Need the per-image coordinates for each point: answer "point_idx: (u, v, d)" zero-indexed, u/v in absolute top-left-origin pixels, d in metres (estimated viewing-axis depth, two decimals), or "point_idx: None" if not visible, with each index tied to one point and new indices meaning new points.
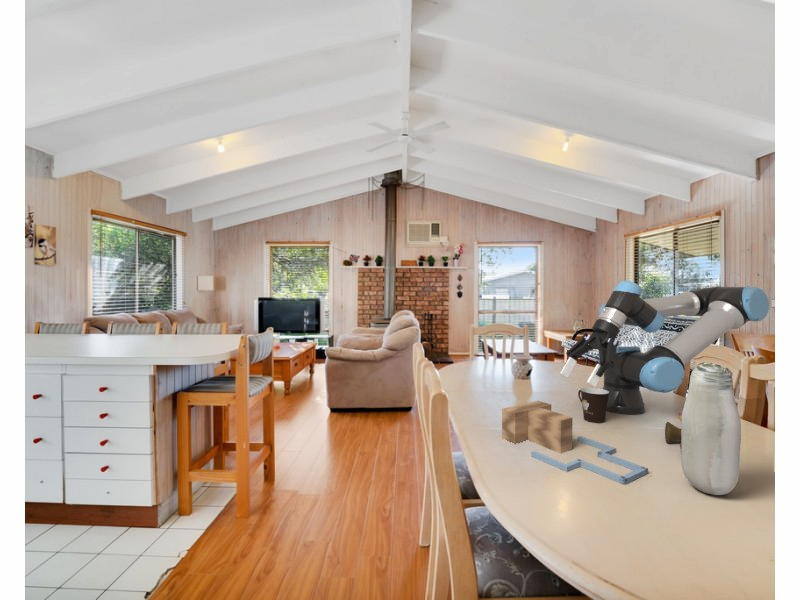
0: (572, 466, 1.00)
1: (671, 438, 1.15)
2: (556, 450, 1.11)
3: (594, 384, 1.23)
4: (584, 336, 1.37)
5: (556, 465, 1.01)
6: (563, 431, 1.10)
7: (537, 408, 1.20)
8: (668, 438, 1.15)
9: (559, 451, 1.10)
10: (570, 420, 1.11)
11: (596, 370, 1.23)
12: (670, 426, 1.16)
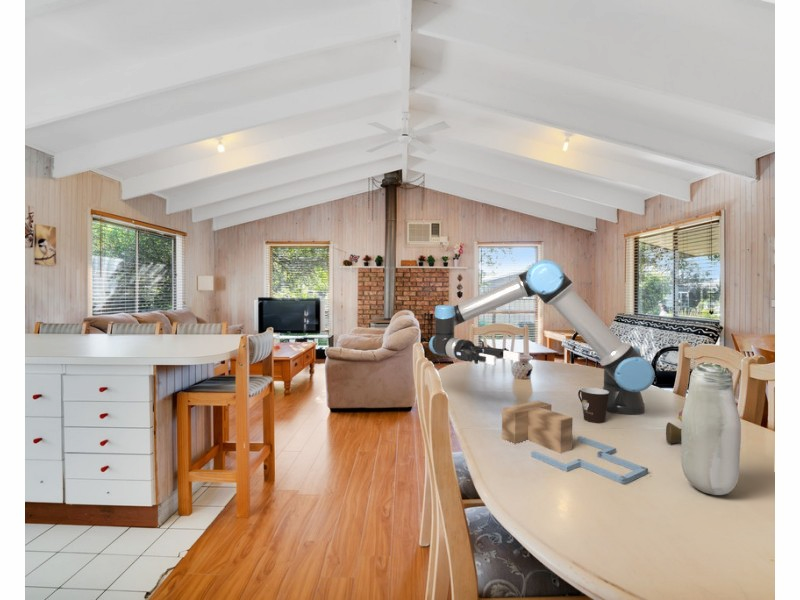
0: (572, 466, 1.00)
1: (673, 439, 1.15)
2: (556, 450, 1.11)
3: (492, 357, 1.26)
4: None
5: (556, 465, 1.01)
6: (563, 431, 1.10)
7: (537, 408, 1.20)
8: (670, 439, 1.15)
9: (559, 451, 1.10)
10: (570, 420, 1.11)
11: (483, 361, 1.29)
12: (671, 427, 1.15)
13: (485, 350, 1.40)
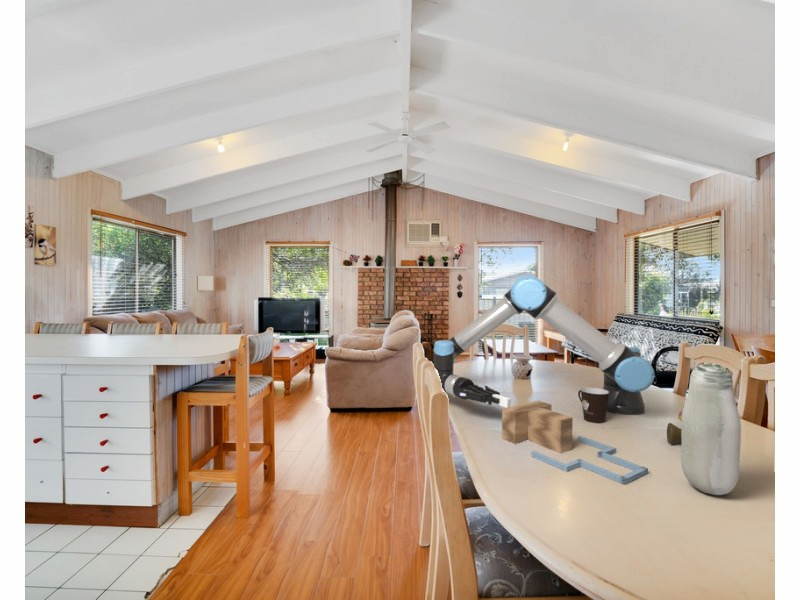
0: (572, 466, 1.00)
1: (674, 440, 1.14)
2: (556, 450, 1.11)
3: (506, 400, 1.28)
4: None
5: (556, 465, 1.01)
6: (563, 431, 1.10)
7: (537, 408, 1.20)
8: (671, 439, 1.14)
9: (559, 451, 1.10)
10: (570, 420, 1.11)
11: (497, 403, 1.31)
12: (673, 427, 1.15)
13: (480, 390, 1.40)
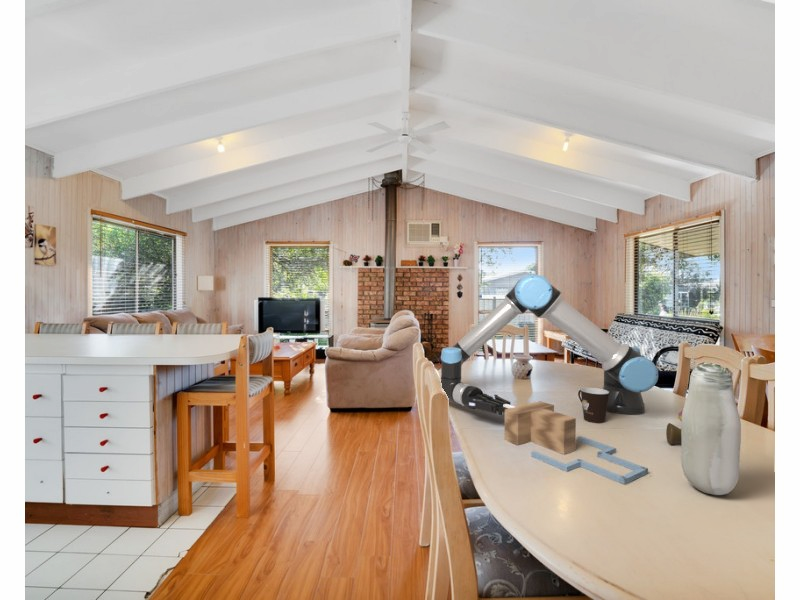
0: (572, 466, 1.00)
1: (674, 440, 1.14)
2: (559, 451, 1.10)
3: None
4: None
5: (556, 465, 1.01)
6: (566, 432, 1.09)
7: (539, 409, 1.19)
8: (671, 439, 1.14)
9: (562, 452, 1.09)
10: (573, 421, 1.11)
11: None
12: (673, 427, 1.15)
13: (490, 400, 1.35)
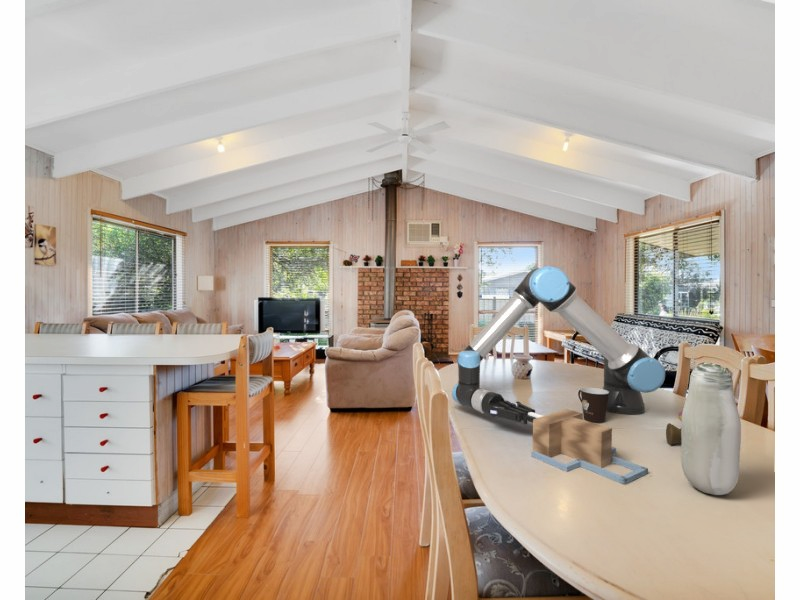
0: (572, 466, 1.00)
1: (674, 440, 1.14)
2: (596, 464, 1.02)
3: None
4: None
5: (556, 465, 1.01)
6: (603, 444, 1.01)
7: (570, 418, 1.11)
8: (671, 440, 1.14)
9: (599, 465, 1.01)
10: (610, 431, 1.03)
11: None
12: (673, 427, 1.15)
13: (512, 407, 1.27)
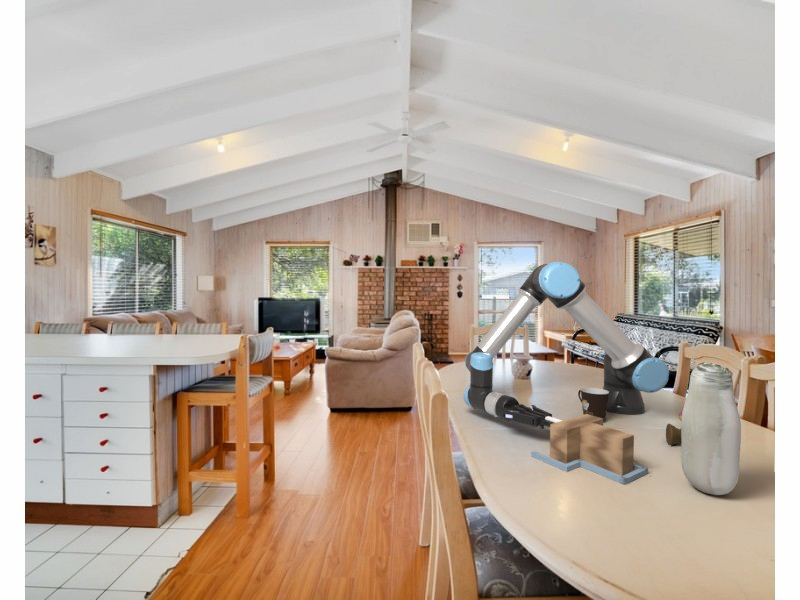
0: (572, 466, 1.00)
1: (674, 441, 1.14)
2: (616, 473, 0.97)
3: None
4: None
5: (556, 465, 1.01)
6: (624, 451, 0.96)
7: (589, 423, 1.07)
8: (671, 440, 1.14)
9: (620, 474, 0.96)
10: (632, 438, 0.98)
11: None
12: (673, 428, 1.14)
13: (528, 411, 1.22)
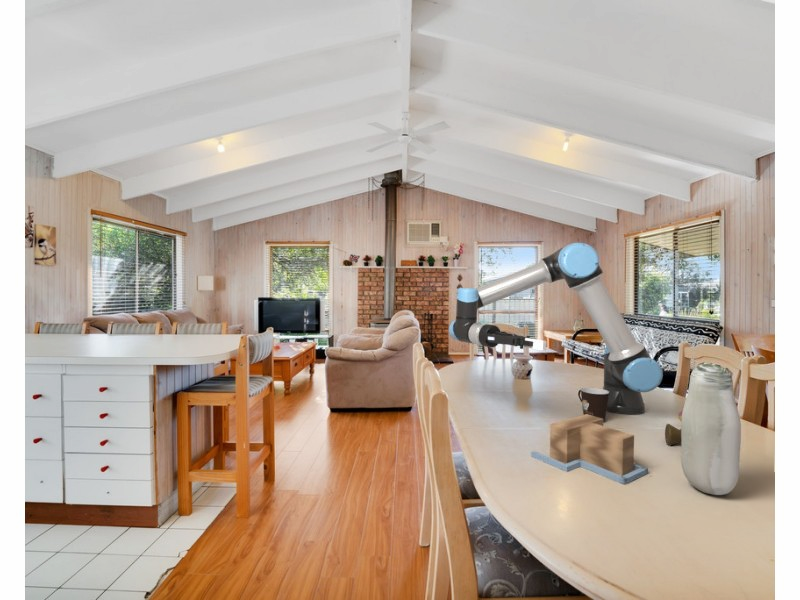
0: (572, 466, 1.00)
1: (673, 441, 1.14)
2: (616, 473, 0.97)
3: (541, 342, 1.18)
4: None
5: (556, 465, 1.01)
6: (624, 451, 0.96)
7: (589, 424, 1.07)
8: (669, 440, 1.14)
9: (620, 474, 0.96)
10: (632, 438, 0.98)
11: (529, 346, 1.21)
12: (671, 428, 1.14)
13: (509, 336, 1.29)
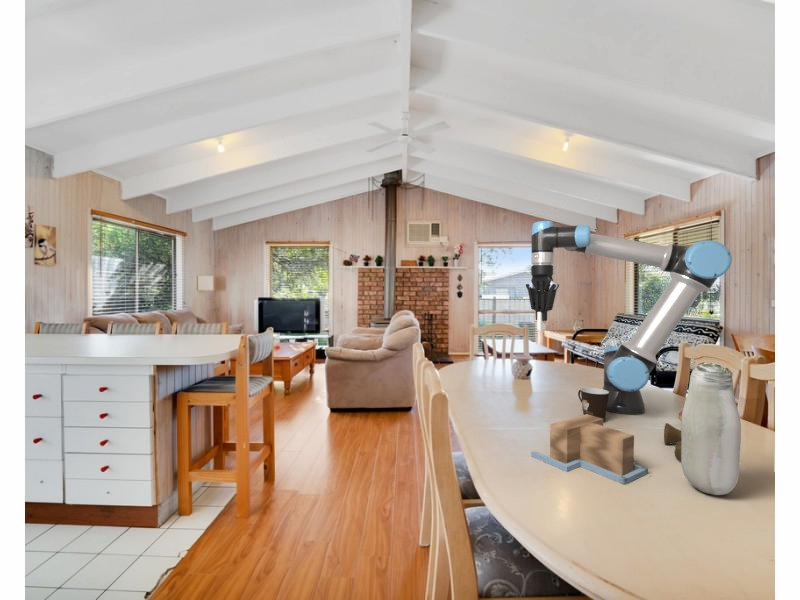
0: (572, 466, 1.00)
1: (669, 440, 1.14)
2: (616, 473, 0.97)
3: (544, 328, 1.47)
4: (528, 286, 1.50)
5: (556, 465, 1.01)
6: (624, 451, 0.96)
7: (589, 424, 1.07)
8: (666, 439, 1.14)
9: (620, 474, 0.96)
10: (632, 438, 0.98)
11: (541, 317, 1.46)
12: (668, 427, 1.15)
13: None
